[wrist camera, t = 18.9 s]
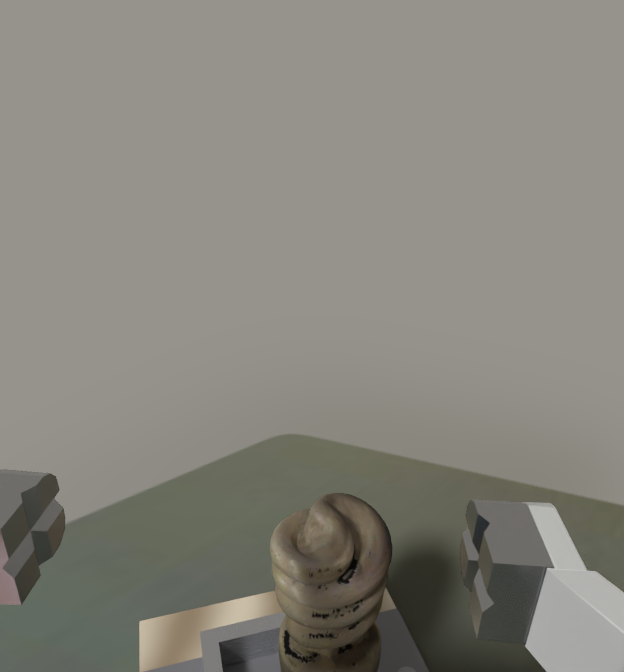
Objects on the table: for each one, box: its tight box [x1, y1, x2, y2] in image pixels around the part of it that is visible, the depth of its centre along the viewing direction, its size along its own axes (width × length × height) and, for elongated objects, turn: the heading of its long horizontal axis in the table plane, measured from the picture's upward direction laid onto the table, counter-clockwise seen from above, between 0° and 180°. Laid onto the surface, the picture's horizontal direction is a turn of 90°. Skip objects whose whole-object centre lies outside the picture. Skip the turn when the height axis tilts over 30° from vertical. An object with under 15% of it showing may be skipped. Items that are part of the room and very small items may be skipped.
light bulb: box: [270, 493, 392, 672], centre depth 27 cm, size 6×6×15 cm
